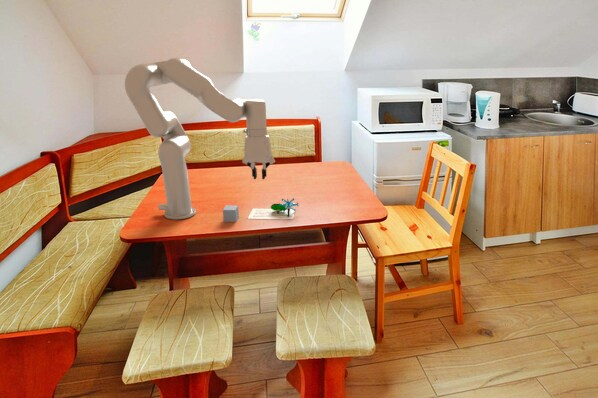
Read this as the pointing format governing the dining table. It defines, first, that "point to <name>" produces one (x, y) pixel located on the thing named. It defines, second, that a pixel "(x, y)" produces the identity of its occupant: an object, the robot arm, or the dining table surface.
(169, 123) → the robot arm
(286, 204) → the stick construction toy
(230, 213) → the cube
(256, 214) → the letter
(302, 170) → the dining table surface
